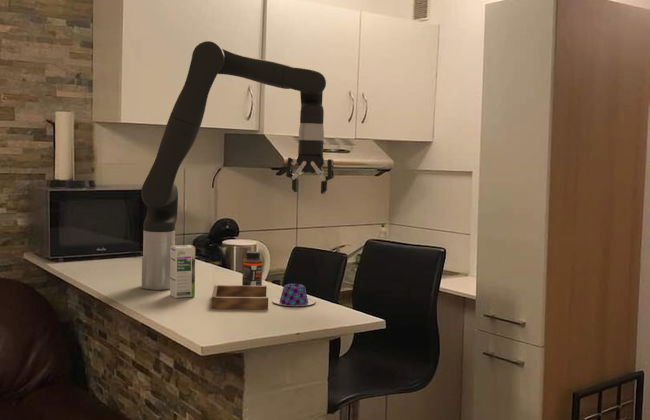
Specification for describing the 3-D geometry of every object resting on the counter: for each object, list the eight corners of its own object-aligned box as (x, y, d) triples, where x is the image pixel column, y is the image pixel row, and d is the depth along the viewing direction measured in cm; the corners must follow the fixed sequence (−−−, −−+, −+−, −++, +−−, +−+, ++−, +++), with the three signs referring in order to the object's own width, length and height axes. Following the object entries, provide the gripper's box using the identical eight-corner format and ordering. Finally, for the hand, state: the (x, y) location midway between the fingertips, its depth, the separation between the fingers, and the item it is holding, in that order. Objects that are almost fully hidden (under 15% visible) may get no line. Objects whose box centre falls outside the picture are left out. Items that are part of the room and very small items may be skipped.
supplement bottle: (258, 291, 219) (259, 253, 218) (239, 289, 220) (240, 252, 219) (264, 287, 225) (265, 251, 224) (245, 286, 226) (246, 250, 225)
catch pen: (211, 308, 193) (211, 297, 193) (214, 295, 210) (214, 285, 210) (268, 309, 195) (268, 298, 195) (266, 295, 212) (266, 285, 212)
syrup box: (175, 298, 204) (176, 247, 203) (169, 294, 209) (170, 244, 208) (194, 297, 207) (195, 246, 206) (188, 293, 212) (189, 243, 211)
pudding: (318, 308, 200) (319, 289, 199) (275, 308, 197) (275, 289, 197) (311, 299, 211) (311, 281, 211) (270, 299, 209) (270, 281, 209)
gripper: (284, 138, 217) (283, 192, 219) (330, 139, 213) (328, 194, 215) (292, 138, 224) (290, 191, 226) (337, 140, 221) (335, 193, 222)
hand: (309, 192), depth 220 cm, fingers open, 8 cm apart
